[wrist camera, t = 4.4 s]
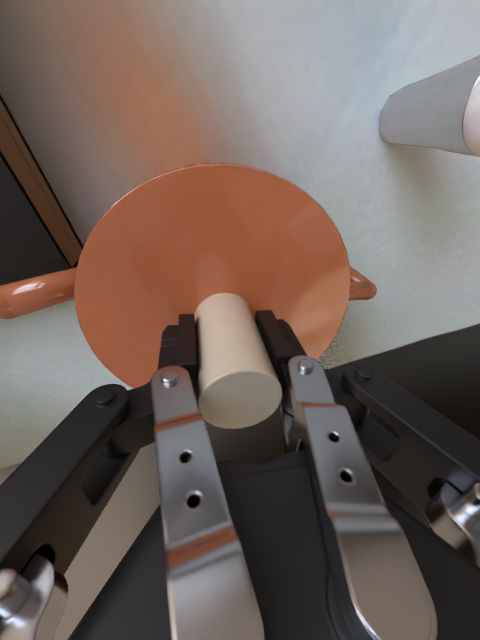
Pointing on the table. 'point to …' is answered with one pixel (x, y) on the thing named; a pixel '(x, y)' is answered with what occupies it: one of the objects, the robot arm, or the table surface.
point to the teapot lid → (212, 281)
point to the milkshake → (437, 111)
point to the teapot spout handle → (60, 289)
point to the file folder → (29, 213)
